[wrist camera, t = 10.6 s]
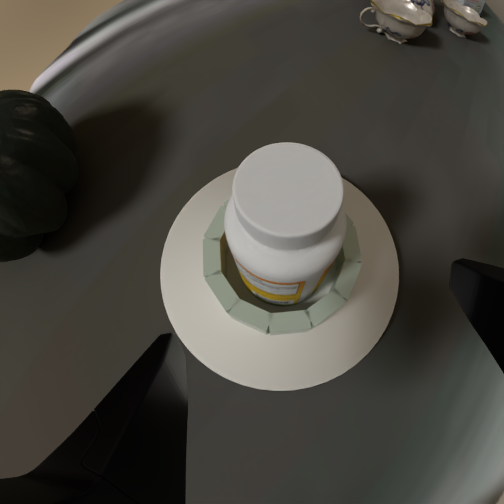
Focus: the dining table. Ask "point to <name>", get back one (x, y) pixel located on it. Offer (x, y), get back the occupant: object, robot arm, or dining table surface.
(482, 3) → the medicine box
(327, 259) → the supplement bottle
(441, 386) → the dining table surface
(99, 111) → the dining table surface
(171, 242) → the carrier socket
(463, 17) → the chinaware
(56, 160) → the squash
